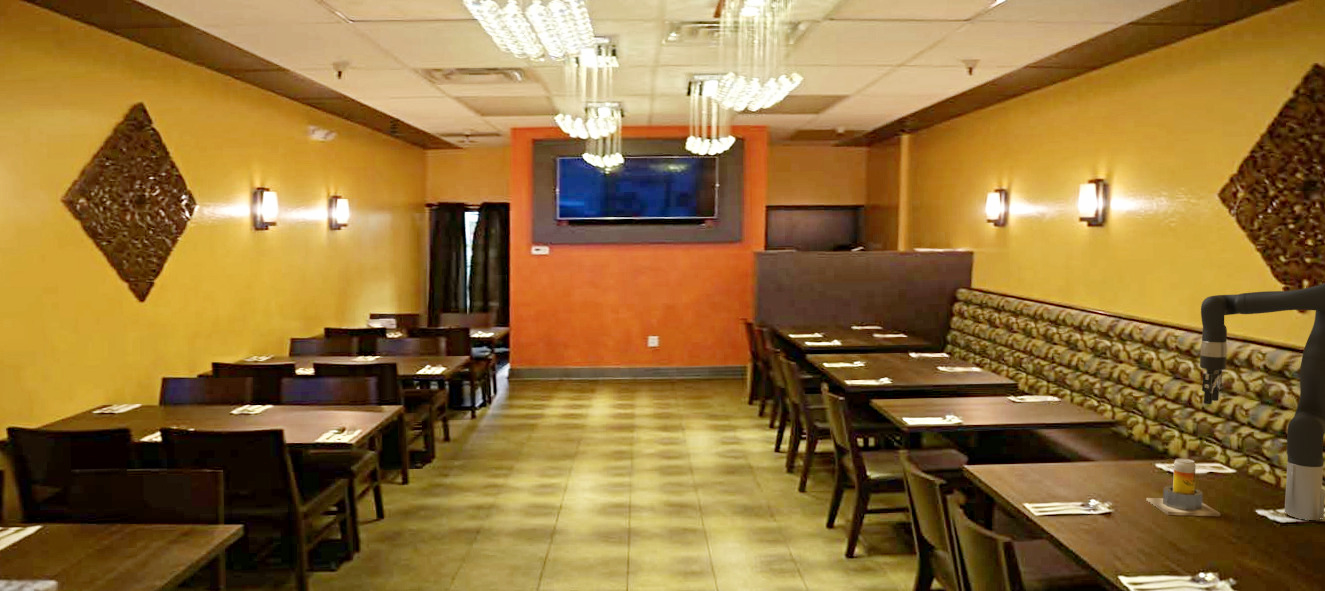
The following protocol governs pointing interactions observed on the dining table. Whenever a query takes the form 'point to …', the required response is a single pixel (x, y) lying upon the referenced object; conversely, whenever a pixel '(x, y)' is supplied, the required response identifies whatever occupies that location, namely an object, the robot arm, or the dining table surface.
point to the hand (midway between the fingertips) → (1211, 402)
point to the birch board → (1172, 511)
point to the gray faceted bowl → (1182, 499)
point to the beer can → (1184, 476)
